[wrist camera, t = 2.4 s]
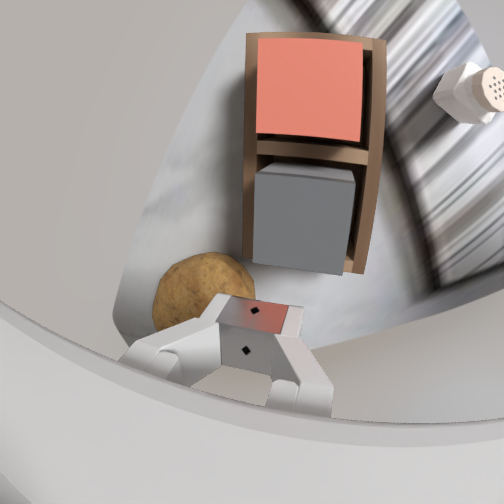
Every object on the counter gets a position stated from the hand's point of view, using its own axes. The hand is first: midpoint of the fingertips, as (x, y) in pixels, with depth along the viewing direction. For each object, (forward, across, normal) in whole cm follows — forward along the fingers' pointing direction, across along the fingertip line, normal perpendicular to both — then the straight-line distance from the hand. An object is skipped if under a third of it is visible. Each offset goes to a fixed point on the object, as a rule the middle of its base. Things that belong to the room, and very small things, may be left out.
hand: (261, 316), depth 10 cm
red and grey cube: (+15, 0, -9) cm, 17 cm away
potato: (+21, +10, +12) cm, 26 cm away
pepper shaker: (+20, -13, -11) cm, 27 cm away
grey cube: (+15, 0, 0) cm, 15 cm away
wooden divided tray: (+20, 0, -4) cm, 21 cm away
